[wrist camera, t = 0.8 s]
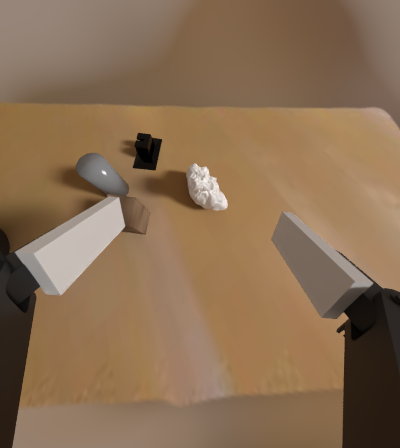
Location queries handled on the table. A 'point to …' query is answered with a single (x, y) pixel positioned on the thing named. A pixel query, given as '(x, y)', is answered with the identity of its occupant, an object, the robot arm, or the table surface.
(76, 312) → the table surface
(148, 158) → the notched block on base
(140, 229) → the walnut block
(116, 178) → the grey rounded cylinder
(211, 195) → the bust
